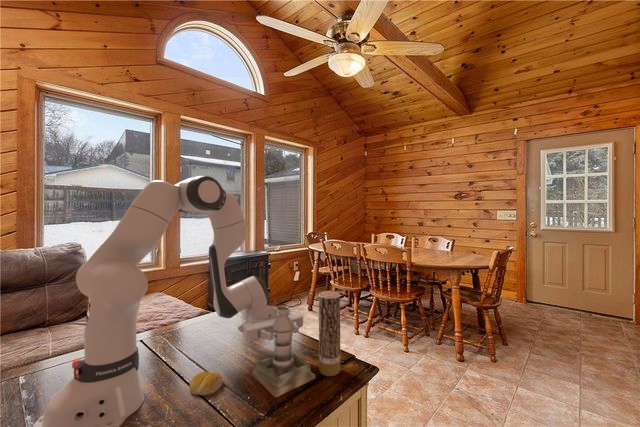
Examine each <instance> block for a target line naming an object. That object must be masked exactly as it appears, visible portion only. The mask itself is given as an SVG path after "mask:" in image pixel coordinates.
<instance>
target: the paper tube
mask: <svg viewBox="0 0 640 427" xmlns="http://www.w3.org/2000/svg"><path fill="white" fill-rule="evenodd" d="M318 362H319V363H318V368H319V372H320V374H321V375H323V376H325V377H334V376H335V377H336V376H337V375H339V373H340V372H341V293H340V292H339V291H334V290H323V291H320V292H319V293H318Z"/></svg>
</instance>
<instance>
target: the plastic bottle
mask: <svg viewBox="0 0 640 427" xmlns="http://www.w3.org/2000/svg"><path fill="white" fill-rule="evenodd" d="M278 307H279V308H277V316H278V317H277V318H276V320H275V321H274V323H273V334H274V336H273V337H274V339H273V344H274V346H273V347H274V349H273V350H274V351H273V356H274V358H273V363H272V367H273V371H274V373H275V374H276V375H279V376H281V375H283V374H285V373H287V372H290V371H292V370H293V367H294V360H293V354H292V353H293V335H294V333H293V329H294V324H293V321H292V320H291V318H290V317H289V310H290V307H289V306H288V307H289V308H288V307H280V306H278Z"/></svg>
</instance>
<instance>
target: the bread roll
mask: <svg viewBox="0 0 640 427" xmlns="http://www.w3.org/2000/svg"><path fill="white" fill-rule="evenodd" d="M223 382H224V379H223V376H222V375H221V374H220V373H218V372H209V371H201V372H199V373H196V374H195V375H194V376H193V377H192V378H191V380H190V382H189V391H190V393H191V394H193V395H199V396H201V397H202V396H209V395H212V394H214V393H215V392H217V391H218V390H219V389H220V388H221V387H222V386H223Z"/></svg>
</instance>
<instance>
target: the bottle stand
mask: <svg viewBox="0 0 640 427" xmlns="http://www.w3.org/2000/svg"><path fill="white" fill-rule="evenodd" d="M292 354H293V360H294V367H293V370H292V371H290V372H287V373H285V374H283V375H281V376H279V375H276V374H275V373H274V371H273V367H272V363H273V358H274V355H273V356H270V357H267V358H263V359H262V360H259V361H256V369H255V370H253V371H251V372H252V373H251V374H252V377H254V379H255V380H256V381H257V382H258V383H259V384H261V385H262V386H263V387H264V388H265V389H266V390H267V391H268V392H269V393H270V394H271V395H272V396H273V397H274V398H278V397H281V396H282V395H284V394H285V393H288V392H290V391H292V390H294V389H296V388H299V387H301V386H302V385H304V384H307V383H309V382H312V381H314V380H315V379H316V373H314V372H312V371H311V364H310V363H308V361H306V360H305V359H303V358H302V357H300V356H298V355H297V354H295V353H293V352H292Z"/></svg>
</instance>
